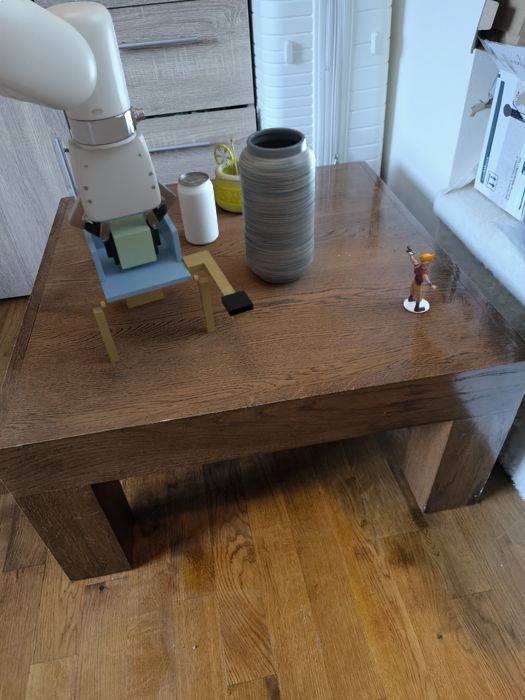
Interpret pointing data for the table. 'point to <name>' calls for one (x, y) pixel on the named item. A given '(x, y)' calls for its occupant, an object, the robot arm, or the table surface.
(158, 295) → the tan bar frame
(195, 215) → the can
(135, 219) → the block
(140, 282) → the light blue walled tray
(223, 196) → the yellow lemon pot
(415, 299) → the action figure
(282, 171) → the vase
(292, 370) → the table surface
